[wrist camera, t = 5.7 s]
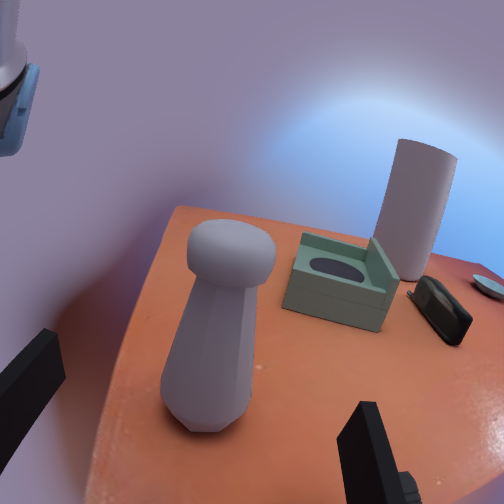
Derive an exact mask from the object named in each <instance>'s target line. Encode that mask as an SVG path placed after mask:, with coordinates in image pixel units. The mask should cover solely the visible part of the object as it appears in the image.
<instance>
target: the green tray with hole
mask: <svg viewBox="0 0 504 504" xmlns="http://www.w3.org/2000/svg"><path fill="white" fill-rule="evenodd" d="M399 283H400V278H399V276H398V275H397V273H396V271H395V269H394V268H393V266H392V264H391V263H390V261H389V259H388V258H387V256H386V254H385V253H384V251H383V249H382V248H381V246H380V244H379V243H378V241H377V240H376V238H372V237H371V238H370V241H369V244H368V247H367V248H364V247H360V246H357V245H353V244H350V243H346V242H343V241H339V240H335V239H332V238H328V237H325V236H321V235H317V234H314V233H310V232H306V231H303V233H302V237H301V241H300V245H299V248H298V252H297V255H296V259H295V263H294V266H293V269H292V273H291V276H290V280H289V284H288V287H287V291H286V294H285V298H284V301H283V305H282V308H285V309H289V310H293V311H296V312H300V313H304V314H307V315H311V316H315V317H319V318H322V319H326V320H330V321H334V322H338V323H342V324H346V325H350V326H354V327H358V328H362V329H366V330H370V331H374V332H379V331H380V328H381V326H382V324H383V322H384V319H385V317H386V315H387V312H388V310H389V307H390V305H391V303H392V300H393V298H394V295H395V293H396V290H397V288H398V285H399Z"/></svg>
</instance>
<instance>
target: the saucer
mask: <svg viewBox="0 0 504 504" xmlns="http://www.w3.org/2000/svg"><path fill="white" fill-rule="evenodd" d="M473 278H474V281H475V283H476V285H477V287H478V288H479V289H480V290H481V291H482V292H484V293H485V294H487V295H489V296H491V297H493V298H497V299H503V298H504V287H503V286H501V285H500V284H498V283H496V282H494V281H492V280H490V279H488V278H486V277H483V276H480V275H475V274H474V275H473Z"/></svg>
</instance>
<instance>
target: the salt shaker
mask: <svg viewBox="0 0 504 504" xmlns="http://www.w3.org/2000/svg"><path fill="white" fill-rule="evenodd" d="M275 259H276V245H275V243H274V241H273V240H272V238H271V237H270V236H269V234H268V233H267V232H265V231H263V230H261V229H259V228H258V227H255V226H253V225H250V224H247V223H244V222H240V221H235V220H226V219H216V220H206V221H204V222H202V223H200V224H199V225H198V226H196V227H195V228H193V229H192V231H191V234H190V237H189V240H188V245H187V264H188V268H189V269H190V270H191V271H192V272H193V273H194V274H195V275H197V277H196V280H195V283H194V285H193V288H192V291H191V293H190V296H189V299H188V302H187V304H186V307H185V310H184V313H183V315H182V318H181V321H180V324H179V327H178V329H177V332H176V335H175V338H174V341H173V344H172V347H171V350H170V352H169V355H168V358H167V361H166V364H165V367H164V370H163V373H162V376H161V387H160V393H161V398H162V399H163V401H164V403H165V404H166V406H167V407H168V409H169V410H170V412H171V413H172V415H173V416H174V417H176V418H177V419H178V420H179V421H180V422H181V423H182V424H183V425H184V426H185V427H186V428H188V429H189V430H190V431H191V432H220V431H221V430H223V429H224V428H225V427H227V426H228V425H229V424H230V423H232V422H233V421H235V420H236V419H237V418H239V417H240V416H241V415H242V414H244V412H245V411H246V409H247V406H248V404H249V401H250V398H251V396H252V379H253V361H254V342H255V322H256V303H257V286H259V285H261V284H264V283H265V282H266V280H267V279H268V277H269V275H270V274H271V272H272V269H273V266H274V263H275Z"/></svg>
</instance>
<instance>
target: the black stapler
mask: <svg viewBox="0 0 504 504" xmlns="http://www.w3.org/2000/svg"><path fill="white" fill-rule="evenodd" d="M407 294H408V295H409V296H410V297H411V298H412V299H413V301H414V302H415V303H416V304H417V306H418V307H419V308H420V309H421V311H422V312H423V313H424V315H425V316H426V317H427V318H428V320H429V321H430V323H431V324H432V325H433V327H434V328H435V329H436V331H437V332H438V333H439V335H440V336H441V337H442V339H444V340H445V341H446V342H448V343H450V344H453V345H459V344H460V343H461V342H462V340H463V338H464V336H465V334H466V332H467V330H468V329H469V327H470V325H471V323H472V321H473V318H472V317H471V315H470V314H469V313H468V312H467V311H466V310H465V309H464V308H463V307H462V305H461V304H460V303H459V302H458V301H457V300H456V299H455V298H454V297H453V296H452V295H451V294H450V293H449V291H448V290H447V289H446V288H445V287H444V285H443V284H442V283H441V282H439V281H438V280H436V279H433V278H432V277H429V276H422V277H421V278H420V279H419V281H418V283H417V285H416V288H415V291H414V293H411V291H407Z"/></svg>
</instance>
